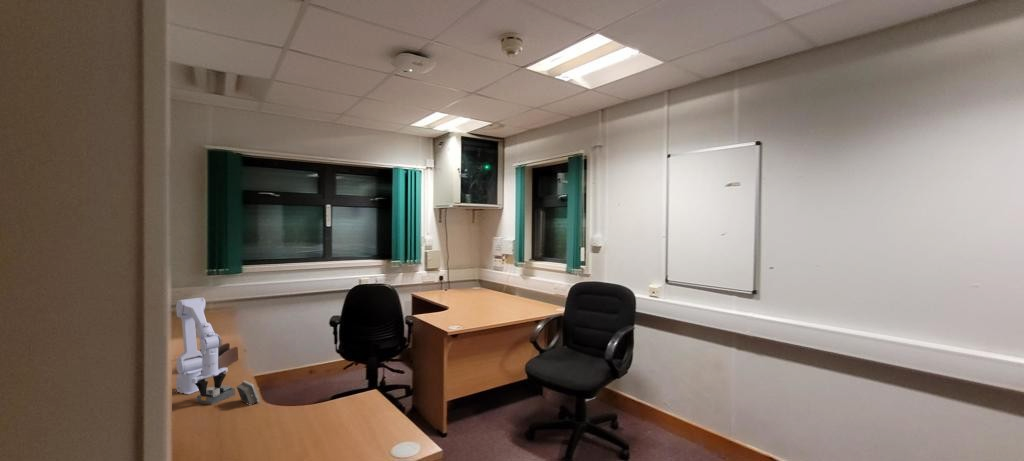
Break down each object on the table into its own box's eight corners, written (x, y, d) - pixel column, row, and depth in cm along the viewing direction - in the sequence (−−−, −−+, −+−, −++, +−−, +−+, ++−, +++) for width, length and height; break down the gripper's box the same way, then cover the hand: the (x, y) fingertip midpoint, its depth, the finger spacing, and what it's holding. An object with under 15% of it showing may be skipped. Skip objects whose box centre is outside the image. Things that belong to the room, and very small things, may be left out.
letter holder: (199, 373, 212) (198, 346, 212) (219, 360, 231) (219, 336, 231) (219, 371, 213) (219, 345, 213) (238, 359, 233) (238, 335, 233)
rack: (196, 402, 176) (196, 392, 176) (221, 392, 186) (220, 383, 186) (211, 404, 173) (210, 394, 173) (235, 394, 184) (234, 385, 184)
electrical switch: (260, 402, 176) (258, 382, 175) (247, 408, 171) (245, 387, 171) (250, 397, 181) (247, 378, 180) (237, 403, 176) (235, 383, 176)
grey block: (203, 400, 177) (203, 389, 177) (210, 397, 180) (209, 386, 180) (213, 401, 175) (212, 390, 175) (219, 398, 178) (219, 387, 178)
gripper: (200, 369, 169) (200, 401, 169) (232, 358, 183) (232, 388, 183) (188, 367, 171) (188, 399, 171) (221, 357, 185) (221, 386, 185)
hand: (210, 393), depth 177 cm, fingers open, 6 cm apart
